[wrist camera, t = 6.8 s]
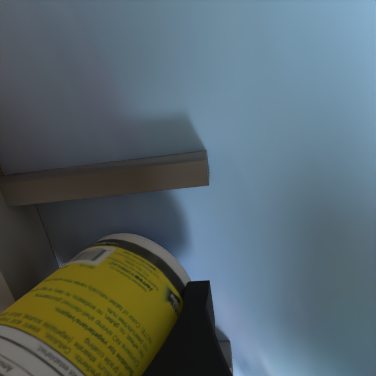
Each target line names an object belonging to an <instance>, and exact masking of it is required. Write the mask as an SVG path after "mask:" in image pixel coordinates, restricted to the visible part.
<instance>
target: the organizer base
mask: <svg viewBox="0 0 376 376" xmlns="http://www.w3.org/2000/svg"><path fill="white" fill-rule="evenodd" d="M208 185H209V166H208V158H207V150H206V151H198V152H190V153H182V154H174V155H166V156H158V157H150V158H142V159H134V160H126V161H118V162H110V163H102V164H94V165H86V166H78V167H70V168H62V169H53V170H45V171H37V172H29V173H21V174H13V175H5V176H3V173H2V171H1V168H0V314H1V313H2V312H3V311H5V310H6V309H7V308H8V307H10V306H11V305H12V304H14V303H15V302H16V301H17V300H19V299H20V298H21V297H23V296H24V295H25V294H27V293H28V292H29V291H31V290H32V289H33V288H34V287H36V286H37V285H38V284H40V283H41V282H42V281H44V280H45V279H46V278H47V277H49V276H50V275H51V274H53V273H54V272H55V271H57V270H58V269H59V266H58V263H57V261H56V258H55V256H54V253H53V250H52V248H51V245H50V243H49V240H48V237H47V235H46V232H45V229H44V227H43V224H42V222H41V219H40V216H39V214H38V211H37V209H36V206H35V204H39V203H48V202H57V201H67V200H76V199H85V198H95V197H104V196H114V195H123V194H132V193H142V192H151V191H161V190H170V189H179V188H189V187H198V186H208ZM218 343H219V346H220V348H221V350H222V353H223V355H224V357H225V360H226V362H227V364H228V366H229V369H230V371H231V373H232V375H233V366H232V353H231V344H230V341H220V342H218Z"/></svg>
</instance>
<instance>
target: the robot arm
mask: <svg viewBox="0 0 376 376" xmlns="http://www.w3.org/2000/svg"><path fill="white" fill-rule="evenodd" d="M141 376H233V375H232V373H231V371H230V369H229V366H228V364H227V362H226V360H225V357H224V355H223V353H222V350H221V348H220V346H219V343H218V340H217V338H216V335H215V317H214V310H213V302H212V295H211V288H210V280H208V281H189V282H188V283H187V284H186V287H185V291H184V298H183V309H182V311H181V313H180V315H179V317H178V319H177V321H176V323H175V324H174V326H173V328H172V330H171V331H170V333H169V335H168V337H167V338H166V340H165V342H164V343H163V345H162V346H161V348H160V350H159V351H158V353H157V354H156V356H155V357H154V359H153V360H152V361H151V363H150V364H149V366H148V367H147V368H146V370H145V371H144V372H143V374H142V375H141Z"/></svg>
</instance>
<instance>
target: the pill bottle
mask: <svg viewBox="0 0 376 376" xmlns="http://www.w3.org/2000/svg"><path fill="white" fill-rule="evenodd" d="M189 281H191V279H190V277H189V275H188V274H187V272H186V271H185V269H184V268H183V267H182V265H181V264H180V263H179V262H178V261H177V260H176V258H175V257H174V256H173V255H172V254H170V253H169V252H168V251H167V250H166V249H164V248H163V247H161V246H160V245H158V244H157V243H155V242H153V241H151V240H149V239H147V238H145V237H142V236H140V235H136V234H130V233H117V234H111V235H108V236H105V237H102V238H100V239H99V240H97V241H95V242H94V243H93V244H91V245H90V246H88V247H87V248H86V249H84V250H83V251H82V252H80V253H79V254H77V255H76V256H75V257H74V258H72V259H71V260H70V261H68V262H67V263H66V264H64V265H63V266H62V267H60V268H59V269H58V270H57V271H55V272H54V273H53V274H51V275H50V276H49V277H47V278H46V279H45V280H44V281H42V282H41V283H40V284H38V285H37V286H36V287H34V288H33V289H32V290H31V291H29V292H28V293H27V294H25V295H24V296H23V297H21V298H20V299H19V300H17V301H16V302H15V303H14V304H12V305H11V306H10V307H8V308H7V309H6V310H5V311H3V312H2V313H1V314H0V376H141V375H142V374H143V372H144V371H145V370H146V368H147V367H148V366H149V364H150V363H151V361H152V360H153V359H154V357H155V356H156V354H157V353H158V351H159V350H160V348H161V346H162V345H163V343H164V342H165V340H166V338H167V337H168V335H169V333H170V331H171V330H172V328H173V326H174V324H175V323H176V321H177V319H178V317H179V315H180V313H181V311H182V309H183V298H184V291H185V287H186V284H187V283H188V282H189Z"/></svg>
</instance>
